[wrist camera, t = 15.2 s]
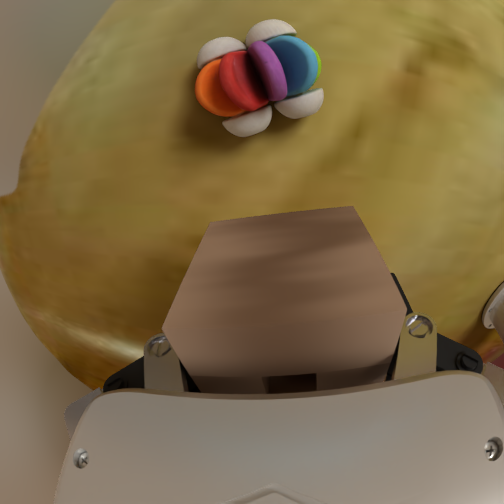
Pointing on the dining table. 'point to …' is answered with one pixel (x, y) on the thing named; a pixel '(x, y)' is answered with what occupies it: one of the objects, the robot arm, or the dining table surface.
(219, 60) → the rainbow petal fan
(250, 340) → the narrow block
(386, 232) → the dining table surface
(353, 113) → the dining table surface
